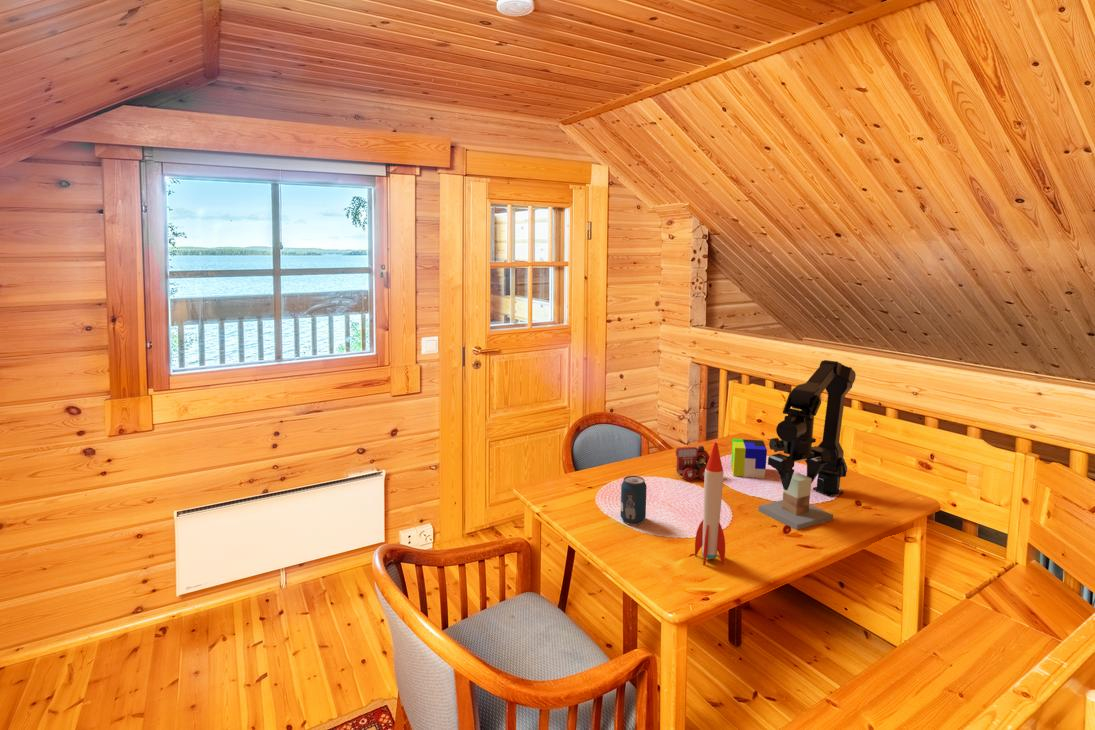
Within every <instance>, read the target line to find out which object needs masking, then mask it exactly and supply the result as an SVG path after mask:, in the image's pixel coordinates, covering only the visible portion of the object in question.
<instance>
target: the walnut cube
mask: <svg viewBox="0 0 1095 730" xmlns="http://www.w3.org/2000/svg"><path fill="white" fill-rule="evenodd" d="M810 497H811V494H810V495H809V496H805V497H801V498H796V497H793V496H791V495H789V494H787V493H784V491H783V492H782V500H783V502H782V509H784V510H786V511H788V512H790V513H792V514H795V515H798V514H802V513H806V512H809V504H810V499H811V498H810Z"/></svg>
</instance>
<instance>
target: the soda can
mask: <svg viewBox="0 0 1095 730" xmlns="http://www.w3.org/2000/svg"><path fill="white" fill-rule="evenodd" d="M620 487H621V488H620V517H621V520H622V521H623V522H624V523H625V522H626V523H625V524H627V523H629V524H628V525H632V524H636V525H640V524H639V523H641V522H642V523H643V522H644V520H645V519H646V515H647V513H646V512H647V484H646V481H645V478H643V477H641V476H640V475H639V476H638V475H628V476H625V477H624V478H623V481H622V483H621V484H620ZM642 523H641V524H642Z"/></svg>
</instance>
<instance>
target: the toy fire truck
mask: <svg viewBox="0 0 1095 730" xmlns="http://www.w3.org/2000/svg"><path fill="white" fill-rule="evenodd" d="M675 455H676V467H675V469H676V473H677V474H679V475H681V476H682V478H683V479H684V480H685V481H688V482H689V481H692V480H694V479H695V477H696V475H697V476H698V478H699V480H700V479H701V480H703V481H704V476H705V469H706V466H707V463H708V460H709V457H710V454H709V453H708V451H706V450H705V447H704V445H699V446H698V447H696V446H683V447H676V449H675Z"/></svg>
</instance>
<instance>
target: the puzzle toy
mask: <svg viewBox="0 0 1095 730" xmlns="http://www.w3.org/2000/svg"><path fill="white" fill-rule="evenodd" d="M731 444H732V445H731V460H730V467H732V468H731V473H732V472H733V473H732V476H733V477H734V476H743V477H742V478H748V477H753V478H752V479H762V478H765V479H766V469H767V458H768V457H767V455H768V453H767V452H768V449H767V447H766V444H765V441H764V440H762V439H761V440H760V439H743V438H732V443H731ZM754 477H756V478H754Z"/></svg>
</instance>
